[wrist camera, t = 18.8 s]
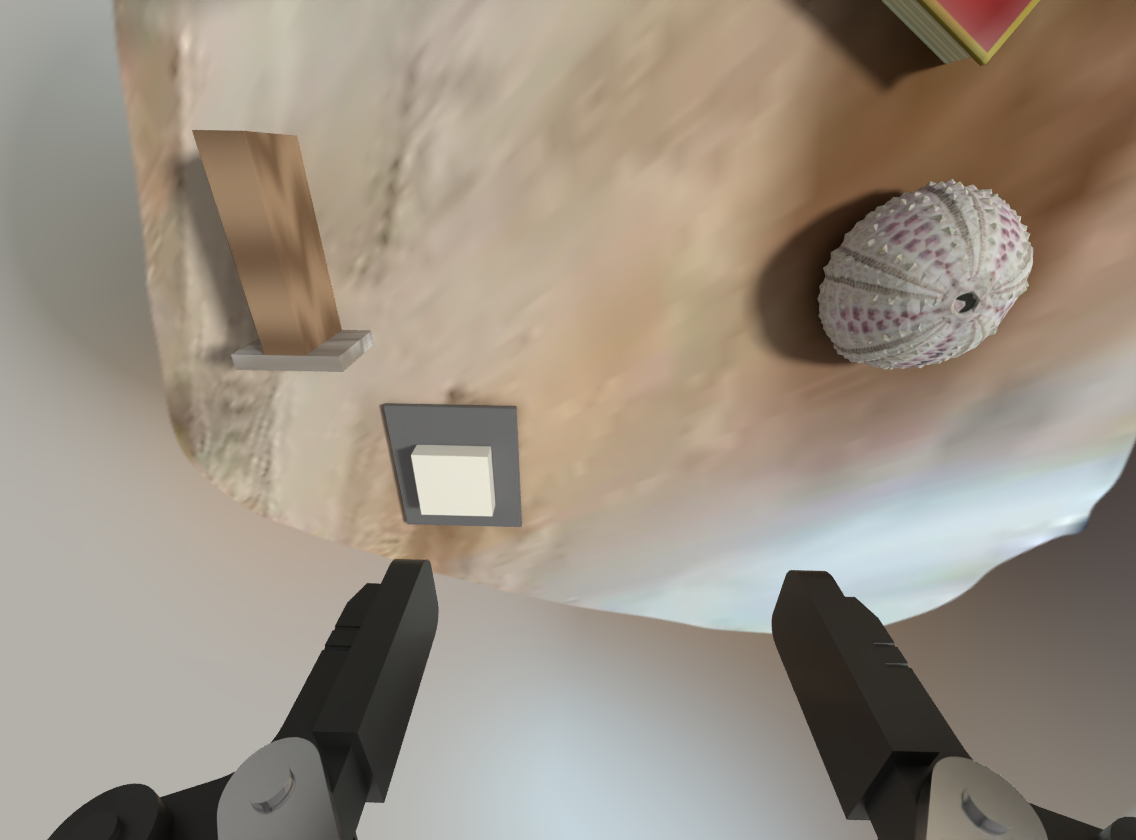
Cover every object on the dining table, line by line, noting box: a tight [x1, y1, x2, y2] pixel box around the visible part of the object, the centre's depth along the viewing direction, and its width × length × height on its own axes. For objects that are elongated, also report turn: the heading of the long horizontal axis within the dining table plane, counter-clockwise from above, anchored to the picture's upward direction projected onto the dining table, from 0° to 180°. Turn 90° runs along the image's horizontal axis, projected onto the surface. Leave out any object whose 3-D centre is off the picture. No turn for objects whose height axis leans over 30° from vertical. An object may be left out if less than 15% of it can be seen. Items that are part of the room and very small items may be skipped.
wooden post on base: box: [192, 130, 374, 372], centre depth 33 cm, size 15×8×6 cm, turn 179°
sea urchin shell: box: [817, 179, 1033, 370], centre depth 33 cm, size 13×14×8 cm
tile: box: [411, 445, 495, 516], centre depth 45 cm, size 2×7×7 cm
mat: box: [384, 403, 522, 527], centre depth 46 cm, size 14×12×1 cm
